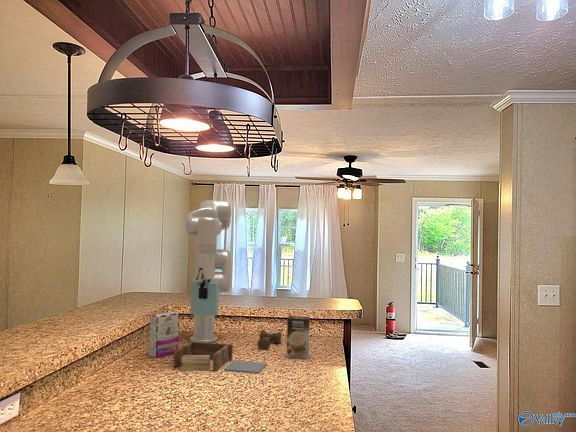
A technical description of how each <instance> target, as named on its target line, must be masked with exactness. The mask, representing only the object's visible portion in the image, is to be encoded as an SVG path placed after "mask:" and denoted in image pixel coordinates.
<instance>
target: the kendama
mask: <svg viewBox="0 0 576 432" xmlns="http://www.w3.org/2000/svg"><path fill="white" fill-rule="evenodd" d="M282 337H283V335H282V332H281V331H278V332H274V333H270V332H267V331H266V330H264V329H261V330H260V332H259V339H258V341H257V347H258V349H259V350H264V351H266V350H267V349H268V348H269V347H270V345H271V342H273V343H275V344H277V345H280V344H281V342H282Z"/></svg>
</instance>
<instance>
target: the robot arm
mask: <svg viewBox="0 0 576 432" xmlns="http://www.w3.org/2000/svg"><path fill="white" fill-rule="evenodd" d="M231 219H232V206H231V204H230V202H228V201H227V200H219V199H217V200H215V199H207V200H203V201H201V202H200V204H199V206H198V209H196V210H193V211H190V212H188V214H187V217H186V219H185V227H184V228H185V233H186V234H187V235H188V236H193V237H196V252H195V253H196V258H195V262H194V263H195V266H194V276H193V281H192V282H194V281H195V282H198V283H199V299H207V292H208V288H207V282H215V283H219V293H228V292H229V291H230V290H231V287H232V255H231V251H229V250H228V249H223V248H220V249H219V248H217V244H218V238H217V237H218V236H220V234H221V233H222V230H223V231H224V230H228V229H229V228H230V227H231ZM216 270H220V271H216ZM204 282H205V283H204ZM215 317H216V316H213V315H197V314H193V330H192V331H193V334H192V336H190V337H189V341H191V342H205V343H215V342H217V341H218V337H217V336H216V335H215V332H216V329H215Z"/></svg>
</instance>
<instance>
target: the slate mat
mask: <svg viewBox="0 0 576 432" xmlns="http://www.w3.org/2000/svg"><path fill="white" fill-rule="evenodd" d="M267 364H268V363H267V362H259V361H257V362H256V361H246V360H245V361H244V360H242V361H241V360H232V362H231V363H229V364H228V365H227V366H225V368H223V369H224V370H223V371H224V372H233V373H249V374H256V375H257V374H261V372H262V370H264V368H265V367H266V366H267Z"/></svg>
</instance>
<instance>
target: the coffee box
mask: <svg viewBox="0 0 576 432" xmlns="http://www.w3.org/2000/svg"><path fill="white" fill-rule="evenodd" d="M310 323H311V317H310V316H302V315H301V316H300V315H299V316H298V315H288V316H287V327H286V329H287V331H286V332H287V333H286V354H285V358H286V359H287V358H288V359H300V360H308V359H309V349H310V325H311V324H310Z"/></svg>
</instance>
